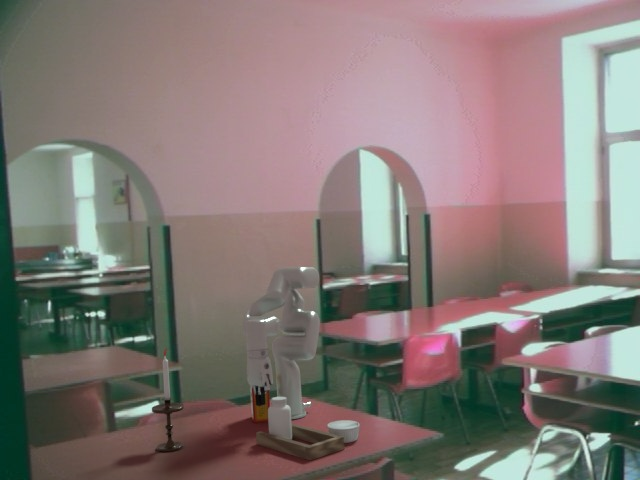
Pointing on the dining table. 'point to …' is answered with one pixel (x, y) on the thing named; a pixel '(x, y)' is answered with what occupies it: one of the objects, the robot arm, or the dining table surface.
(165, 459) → the dining table surface
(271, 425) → the pill bottle
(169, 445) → the candlestick
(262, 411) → the baking soda box
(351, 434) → the ramekin
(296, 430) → the u rest
